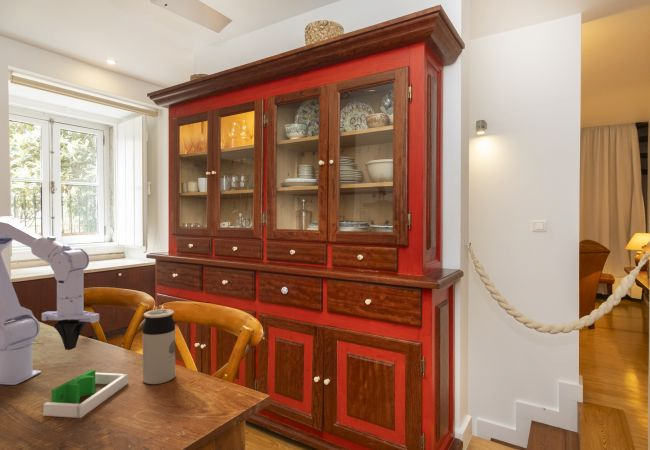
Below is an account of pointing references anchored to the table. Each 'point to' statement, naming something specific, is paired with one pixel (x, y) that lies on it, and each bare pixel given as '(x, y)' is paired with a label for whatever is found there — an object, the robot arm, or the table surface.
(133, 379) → the table surface
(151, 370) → the travel mug
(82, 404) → the white u-shaped frame
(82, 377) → the pipe clamp
